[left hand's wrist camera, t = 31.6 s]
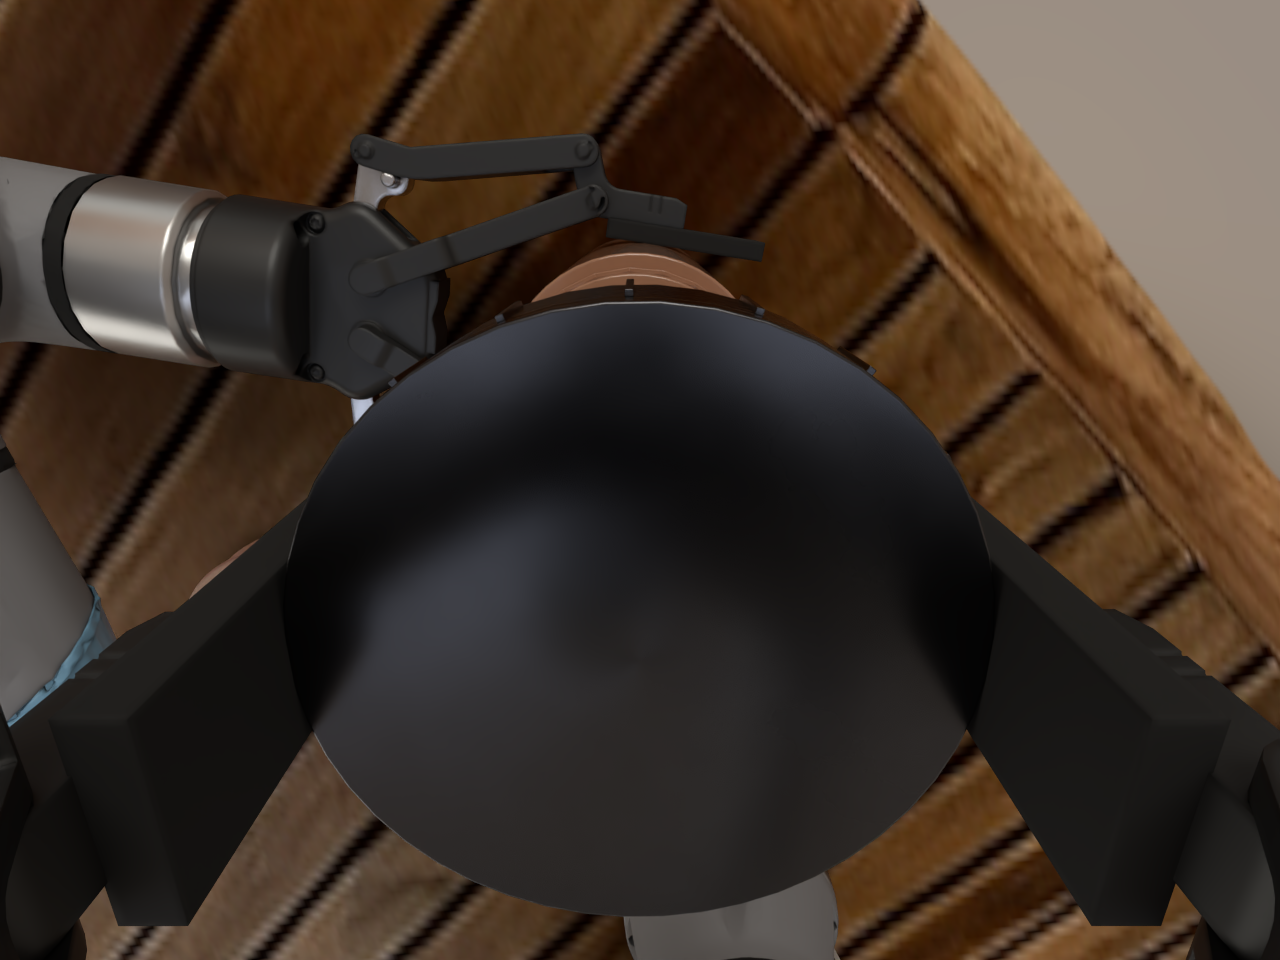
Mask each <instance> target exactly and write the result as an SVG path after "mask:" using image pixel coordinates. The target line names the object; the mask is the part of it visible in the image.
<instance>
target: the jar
mask: <svg viewBox="0 0 1280 960" xmlns="http://www.w3.org/2000/svg"><path fill="white" fill-rule="evenodd" d="M627 279H634V285H665V286H673V287H682V288H690V289H698V290H704V291H708V292H711V293H715V294H719V295H723V296H727V297H731V298H734V297H733V295H732V294H731V293H730V292H729V291H728V290H727V289H726V288H725V287H724V286H723V285H721V284H720V283H719V282H718V281H717V280H716V279H715V278H714V277H713V276H711V275H710V274H709V273H708V272H707V271H706V270H705V269H704V268H702V267H701V266H700V265H699V264H698V263H697V262H696V261H695V260H694V259H692V258H691V257H690V256H689V255H688V254H686V253H685V252H684V251H682V250H680V249H678V248H672V247H665V246H659V245H653V244H646V243H640V242H634V241H628V240H621V239H617V240H613V241H610V242H607V243H605V244H603V245H600V246H599V247H597V248H595V249H593V250H592V251H590V252H589V253H588V254H586V255H585V256H584V257H583V258H581V259H580V260H579V261H577V262H576V263H575V264H574V265H572V266H571V267H570V268H569V269H567V270H566V271H565V272H563V273H562V274H561V275H560V276H558V277H557V278H556V279H555V280H553V281H552V282H551V283H549V284H548V285H547V286H546V287H545V288H544V289H543V290H542V291H541V292H540V293H539V294H538V295H537V296H536V297H535V298H534V299H533V300H532V302H535V301H538V300H542V299H545V298H548V297H552V296H555V295H558V294H562V293H565V292H570V291H577V290H583V289H590V288H596V287H603V286H610V285H626V280H627ZM734 299H735V298H734Z"/></svg>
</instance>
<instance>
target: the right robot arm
mask: <svg viewBox="0 0 1280 960" xmlns="http://www.w3.org/2000/svg"><path fill="white" fill-rule="evenodd" d="M350 151H351V155H352V157H353V159H354V160H355V161H356V162H357V163H358V164H359V166H358V173H357V181H356V188H355V195H354V202H349V203H346V204H344V205H342V206H340V207H336V208H323V207H317V206H311V205H304V204H298V203H292V202H285V201H279V200H272V199H266V198H260V197H253V196H247V195H240V194H239V195H233V196H230V197H226V196H225V195H223V194H222V193H220V192H219V191H215V190H209V189H202V188H196V187H190V186H184V185H177V184H171V183H165V182H159V181H152V180H146V179H140V178H134V177H127V176H121V175H120V176H114V175H107V174H94V173H88V172H83V171H77V170H72V169H66V168H61V167H55V166H50V165H44V164H39V163H33V162H28V161H22V160H17V159H11V158H6V157H0V343H1V342H11V341H27V342H38V343H47V344H55V345H63V346H70V347H77V348H84V349H91V350H100V351H105V352H111V353H119V354H125V355H131V356H138V357H144V358H151V359H157V360H163V361H170V362H176V363H183V364H189V365H195V366H202V367H208V368H210V367H216V366H220V365H222V366H223V367H225V368H227V369H229V370H232V371H238V372H245V373H252V374H259V375H265V376H272V377H279V378H286V379H293V380H299V381H306V382H315V383H322V384H326V385H328V386H331V387H333V388H335V389H336V390H338V391H339V392H341V393H342V394H344V395H345V396H347V397H349V398H351V404H352V412H353V421H354V424H355V423H356V422H357V421H358V419H359V418H360V417H361V416H362V415H363V414H364V412H365V411H366V410H367V409H368V408H369V407H370V406H371V405H372V404H373V403H374V402H375V401H376V400H378V399H379V398H380V396H379V394H380V393H381V392H383V391H385V390H387V389H389V388H391V386H390V385H389V384H388V382H389V381H390V380H392V379H393V378H394V377H396V376H397V375H399V374H400V373H402V372H403V371H405V370H406V369H408V368H409V367H411V366H412V365H414V364H415V363H417V362H418V361H420V360H421V359H423V358H424V357H427V358H428V359H430V358H431V357H433V356H434V355H435V354H437V353H438V352H440V351H441V350H443V348H445V347H446V345H447V326H446V321H445V316H444V310H445V307H446V304H447V301H448V298H449V293H450V278H447V276H446V272H445V269H448V268H451V267H454V266H457V265H460V264H463V263H466V262H468V261H471V260H474V259H477V258H480V257H483V256H485V255H488V254H491V253H494V252H497V251H500V250H503V249H506V248H509V247H512V246H514V245H517V244H520V243H523V242H526V241H529V240H532V239H535V238H538V237H541V236H543V235H546V234H549V233H552V232H555V231H558V230H561V229H564V228H567V227H570V226H572V225H575V224H578V223H581V222H584V221H587V220H590V219H593V218H596V217H601V218H607V219H608V225H607V232H606V237H609V238H615V239H621V240H628V241H634V242H640V243H646V244H653V245H659V246H665V247H672V248H678V249H684V250H690V251H697V252H703V253H709V254H715V255H722V256H728V257H734V258H741V259H747V260H753V261H759V262H761V261H762V256H763V251H764V246H765V243H763V242H759V241H755V240H749V239H743V238H736V237H730V236H724V235H718V234H711V233H705V232H699V231H693V230H687V229H683V228H684V222H685V216H686V210H687V205H686V204H684V203H683V202H681V201H680V200H678V199H676V198H671V197H665V196H659V195H653V194H647V193H641V192H634V191H628V190H622V189H618V188H615V187H614V186H612V185H611V184H610V183H609V182H608V180H607V178H606V175H605V170H604V165H603V160H602V155H601V150H600V147H599V145H598V144H597V142H596V141H595V140H594V138H593V137H591V136H590V135H588V134H570V135H557V136H545V137H532V138H519V139H507V140H494V141H482V142H469V143H456V144H444V145H431V146H419V147H408V146H405V145H402V144H399V143H395V142H392V141H389V140H385V139H382V138H378V137H375V136H371V135H368V134H360V135H357V136H356V137H355V138H354V139H353V140H352V142H351V145H350ZM569 171H573V172H574V176H575V181H576V186H577V190H575V191H572V192H569V193H566V194H563V195H560V196H558V197H555V198H552V199H549V200H546V201H543V202H540V203H538V204H535V205H532V206H529V207H526V208H523V209H520V210H518V211H515V212H512V213H509V214H506V215H503V216H500V217H498V218H495V219H492V220H489V221H486V222H483V223H480V224H478V225H475V226H472V227H469V228H466V229H463V230H461V231H458V232H455V233H452V234H449V235H446V236H442V237H439V238H436V239H433V240H430V241H427V242H424V243H421V242H419V241H418V240H417V239H416V238H415V237H414V236H413V235H412V234H411V233H410V232H409V231H408V230H407V229H406V228H405V227H403V226H402V225H401V224H400V223H399V222H398V221H397V220H396V219H395V218H394V217H393V216H392V215H391V214H390V213H389V212H387V211H386V210H385V209H384V207H385V203H386V202H387V200H388V199H389V198H391V197H393V196H404V195H407V194H409V193H410V192H411V191H412V189H413V187H414V183H415V180H423V181H453V180H466V179H479V178H492V177H505V176H517V175H530V174H543V173H556V172H569ZM15 464H17V463H15V462H14V459H13V457H12V455H11V454H10V452H9V450H8V449H7V447H6V443H5V442H4V440H3V438H2V436H1V435H0V704H1V707H2V710H3V712H4V715H5V718H6V721H7V723H8V726H9V727H10V726H11V725H13V724H14V723H15V722H16V721H17V720H19V719H20V718H21V717H22V716H24V715H25V714H26V713H27V712H28V711H30V710H31V709H32V708H33V707H35V706H36V705H37V704H38V703H40V702H41V701H42V700H43V699H44V698H46V697H47V696H48V695H49V694H51V693H52V692H53V691H54V690H56V689H57V688H58V687H59V686H60V685H62V684H63V683H64V682H65V681H67V680H68V679H74V678H75V673H76V672H78V671H79V670H80V669H81V668H83V667H84V666H85V665H86V664H87V663H89V662H90V661H91V660H92V659H98V658H99V654H100V653H101V652H102V651H103V650H105V649H106V648H107V647H108V646H110V645H111V644H112V643H113V642H115V641H116V637H115V635H114V633H113V631H112V628H111V626H110V624H109V622H108V619H107V617H106V615H105V613H104V610H103V608H102V606H101V599H100V597H99V596H98V593H97V592H96V590H95V588H94V587H93V586H91V585H88V584H86V583H85V581H84V579H83V578H82V576H81V574H80V573H79V571H78V569H77V568H76V566H75V564H74V563H73V561H72V559H71V558H70V556H69V554H68V553H67V551H66V549H65V548H64V546H63V544H62V543H61V541H60V539H59V538H58V536H57V534H56V533H55V531H54V529H53V528H52V526H51V524H50V523H49V521H48V519H47V518H46V516H45V514H44V513H43V511H42V509H41V508H40V506H39V504H38V503H37V501H36V499H35V498H34V496H33V495H32V493H31V491H30V490H29V488H28V486H27V485H26V483H25V481H24V480H23V478H22V476H21V475H20V473H19V471H18V470H17V468H16V466H15Z"/></svg>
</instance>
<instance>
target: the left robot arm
mask: <svg viewBox="0 0 1280 960" xmlns="http://www.w3.org/2000/svg"><path fill="white" fill-rule="evenodd" d="M971 499H972V501H973V503H974V505H975V507H976V509H977V511H978V515H979V518H980V522H981V525H982V528H983V532H984V535H985V539H986V542H987V545H988V549H989V552H990V559H991V567H992V575H993V582H994V590H995V619H994V639H993V644H992V650H991V655H990V660H989V665H988V670H987V676H986V680H985V683H984V686H983V689H982V692H981V695H980V698H979V701H978V704H977V707H976V710H975V713H974V715H973V717H972V719H971V721H970V723H969V725H968V727H967V730H968V732H969V733H970V735H971V737H972V738H973V740H974V741H975V743H976V745H977V746H978V748H979V749H980V751H981V752H982V754H983V756H984V757H985V759H986V760H987V762H988V763H989V765H990V767H991V768H992V770H993V771H994V773H995V774H996V776H997V778H998V779H999V781H1000V782H1001V784H1002V785H1003V787H1004V789H1005V790H1006V792H1007V793H1008V795H1009V797H1010V798H1011V800H1012V801H1013V803H1014V804H1015V806H1016V808H1017V809H1018V811H1019V812H1020V814H1021V815H1022V817H1023V819H1024V820H1025V822H1026V823H1027V825H1028V826H1029V828H1030V830H1031V831H1032V833H1033V834H1034V836H1035V838H1036V839H1037V841H1038V842H1039V844H1040V845H1041V847H1042V849H1043V850H1044V852H1045V853H1046V855H1047V856H1048V858H1049V860H1050V861H1051V863H1052V864H1053V866H1054V867H1055V869H1056V871H1057V872H1058V874H1059V875H1060V877H1061V879H1062V880H1063V882H1064V883H1065V885H1066V886H1067V888H1068V890H1069V891H1070V893H1071V894H1072V896H1073V897H1074V899H1075V901H1076V902H1077V904H1078V905H1079V907H1080V908H1081V910H1082V912H1083V913H1084V915H1085V916H1086V918H1087V919H1088V921H1089V923H1090V924H1091V926H1161V924H1162V922H1163V919H1164V916H1165V913H1166V910H1167V907H1168V904H1169V901H1170V898H1171V895H1172V892H1173V889H1174V886H1175V884H1177V885H1178V887H1179V888H1180V889H1181V890H1182V892H1183V893H1184V894H1185V895H1186V897H1187V898H1188V899H1189V900H1190V902H1191V903H1192V904H1193V905H1194V907H1195V908H1196V909H1197V910H1198V912H1199V913H1200V914H1201V915H1202V917H1201V920H1200V922H1199V925H1198V928H1197V931H1196V933H1195V936H1194V939H1193V941H1192V944H1191V947H1190V950H1189V952H1188V955H1187V958H1186V960H1280V731H1279V730H1278V729H1277V728H1276V727H1274V726H1273V725H1272V724H1271V723H1269V722H1268V721H1267V720H1266V719H1264V718H1263V717H1262V716H1261V715H1259V714H1258V713H1257V712H1256V711H1254V710H1253V709H1252V708H1251V707H1250V706H1248V705H1247V704H1246V703H1245V702H1243V701H1242V700H1241V699H1240V698H1238V697H1237V696H1236V695H1235V694H1233V693H1232V692H1231V691H1230V690H1228V689H1227V688H1226V687H1225V686H1224V685H1222V684H1221V683H1220V682H1219V681H1217V680H1216V679H1215V678H1214V677H1212V676H1206V674H1205V670H1204V669H1202V668H1201V667H1200V666H1199V665H1198V664H1196V663H1195V662H1194V661H1193V660H1191V659H1190V658H1189V657H1188V656H1182V654H1181V651H1180V650H1179V649H1178V648H1176V647H1175V646H1174V645H1173V644H1172V643H1170V642H1169V641H1168V640H1167V639H1165V638H1164V637H1163V636H1162V635H1160V634H1159V633H1158V632H1157V631H1155V630H1154V629H1153V628H1151V627H1149V626H1147V625H1145V624H1143V623H1141V622H1139V621H1137V620H1135V619H1133V618H1131V617H1129V616H1127V615H1125V614H1123V613H1121V612H1119V611H1117V610H1115V609H1101V608H1100V607H1099V606H1098V605H1097V604H1096V603H1094V602H1093V601H1092V600H1091V599H1090V598H1089V597H1087V596H1086V595H1085V594H1084V593H1083V592H1082V591H1080V590H1079V589H1078V588H1077V587H1076V586H1075V585H1073V584H1072V583H1071V582H1070V581H1069V580H1068V579H1066V578H1065V577H1064V576H1063V575H1062V574H1061V573H1059V572H1058V571H1057V570H1056V569H1055V568H1053V567H1052V566H1051V565H1050V564H1049V563H1048V562H1046V561H1045V560H1044V559H1043V558H1042V557H1041V556H1039V555H1038V554H1037V553H1036V552H1035V551H1034V550H1032V549H1031V548H1030V547H1029V546H1028V545H1027V544H1025V543H1024V542H1023V541H1022V540H1021V539H1020V538H1018V537H1017V536H1016V535H1015V534H1014V533H1013V532H1011V531H1010V530H1009V529H1008V528H1007V527H1006V526H1004V525H1003V524H1002V523H1001V522H1000V521H998V520H997V519H996V518H995V517H994V516H993V515H991V514H990V513H989V512H988V511H987V510H986V509H984V508H983V507H982V506H981V505H980V504H979V503H977V502H976V501H975V500H974V499H973V498H972V497H971ZM306 500H307V499H306ZM306 500H304V501H303V502H302V503H301V504H300V505H299V506H297V507H296V508H295V509H294V510H293V511H292V512H290V513H289V514H288V515H287V516H286V517H285V518H283V519H282V520H281V521H280V522H279V523H277V524H276V525H275V526H274V527H273V528H272V529H270V530H269V531H268V532H267V533H266V534H265V535H263V536H262V537H261V538H260V539H259V540H258V541H256V542H255V543H254V544H253V545H252V546H251V547H249V548H248V549H247V550H246V551H245V552H244V553H242V554H241V555H240V556H239V557H238V558H237V559H235V560H234V561H233V562H232V563H231V564H229V565H228V566H227V567H226V568H225V569H224V570H222V571H221V572H220V573H219V574H218V575H217V576H215V577H214V578H213V579H212V580H211V581H210V582H208V583H207V584H206V585H205V586H204V587H203V588H201V589H200V590H199V591H198V592H197V593H196V594H194V595H193V596H192V597H191V598H190V599H189V600H187V601H186V602H185V603H184V604H183V605H182V606H180V607H179V608H178V609H177V610H176V611H174V612H164V613H162V614H160V615H158V616H156V617H154V618H152V619H150V620H148V621H146V622H144V623H142V624H140V625H138V626H137V627H135V628H133V629H131V630H129V631H127V632H126V633H124V634H123V635H122V636H121V637H119V638H118V639H117V640H116V641H115V642H113V643H112V644H111V645H110V646H108V647H107V648H106V649H105V650H103V651H102V652H101V653H100V654H99V658H98V659H92V660H91V661H90V662H89V663H87V664H86V665H85V666H84V667H83V668H81V669H80V670H79V671H78V672H76V673H75V678H74V679H68V680H67V681H65V682H64V683H63V684H62V685H60V686H59V687H58V688H57V689H56V690H54V691H53V692H52V693H51V694H49V695H48V696H47V697H46V698H44V699H43V700H42V701H41V702H40V703H38V704H37V705H36V706H35V707H33V708H32V709H31V710H30V711H28V712H27V713H26V714H25V715H24V716H22V717H21V718H20V719H19V720H17V721H16V722H15V723H14V724H13V725H11V726H10V727H9V726H8V723H7V721H6V718H5V715H4V712H3V710H2V707H1V704H0V960H85V959H86V953H87V946H86V939H85V933H84V931H83V928H82V925H81V922H80V920H79V918H80V916H81V915H82V914H83V913H84V911H85V910H86V909H87V908H88V906H89V905H90V904H91V903H92V901H93V900H94V899H95V898H96V896H97V895H98V894H99V893H100V891H101V890H102V889H103V888H104V886H105V888H106V891H107V894H108V897H109V900H110V903H111V906H112V909H113V912H114V915H115V918H116V920H117V923H118V926H188V925H189V923H190V922H191V920H192V919H193V917H194V916H195V914H196V912H197V911H198V909H199V908H200V906H201V905H202V903H203V901H204V900H205V898H206V897H207V895H208V893H209V892H210V890H211V889H212V887H213V886H214V884H215V882H216V881H217V879H218V878H219V876H220V875H221V873H222V871H223V870H224V868H225V867H226V865H227V864H228V862H229V860H230V859H231V857H232V856H233V854H234V853H235V851H236V849H237V848H238V846H239V845H240V843H241V841H242V840H243V838H244V837H245V835H246V834H247V832H248V830H249V829H250V827H251V826H252V824H253V823H254V821H255V819H256V818H257V816H258V815H259V813H260V812H261V810H262V808H263V807H264V805H265V804H266V802H267V800H268V799H269V797H270V796H271V794H272V793H273V791H274V789H275V788H276V786H277V785H278V783H279V782H280V780H281V778H282V777H283V775H284V774H285V772H286V771H287V769H288V767H289V766H290V764H291V763H292V761H293V760H294V758H295V756H296V755H297V753H298V752H299V750H300V748H301V747H302V745H303V744H304V742H305V741H306V739H307V737H308V736H309V734H310V733H311V731H312V729H311V727H310V725H309V723H308V721H307V718H306V716H305V713H304V710H303V708H302V705H301V702H300V700H299V697H298V694H297V691H296V689H295V684H294V679H293V674H292V669H291V665H290V660H289V655H288V650H287V644H286V638H285V629H284V612H283V600H284V589H285V578H286V568H287V560H288V556H289V552H290V549H291V545H292V541H293V537H294V533H295V529H296V525H297V521H298V519H299V516H300V514H301V512H302V509H303V507H304V505H305V502H306ZM624 924H625V931H626V938H627V942H628V946H629V949H630V952H631V954H632V957H633V959H634V960H834V958H835V960H840V958H839V957H838V955H837V953H836V951H835V949H834V946H835V943H836V939H837V934H838V912H837V902H836V898H835V893H834V890H833V886H832V883H831V879H830V876H829V874H828V871H827V870H826V871H825V872H823V873H821V874H819V875H817V876H816V877H814V878H811V879H809V880H807V881H804V882H802V883H800V884H797V885H795V886H793V887H790V888H788V889H785V890H783V891H781V892H778V893H775V894H772V895H769V896H766V897H762V898H759V899H756V900H753V901H750V902H746V903H743V904H739V905H734V906H730V907H725V908H720V909H715V910H710V911H705V912H699V913H689V914H680V915H671V916H643V917H624Z"/></svg>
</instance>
